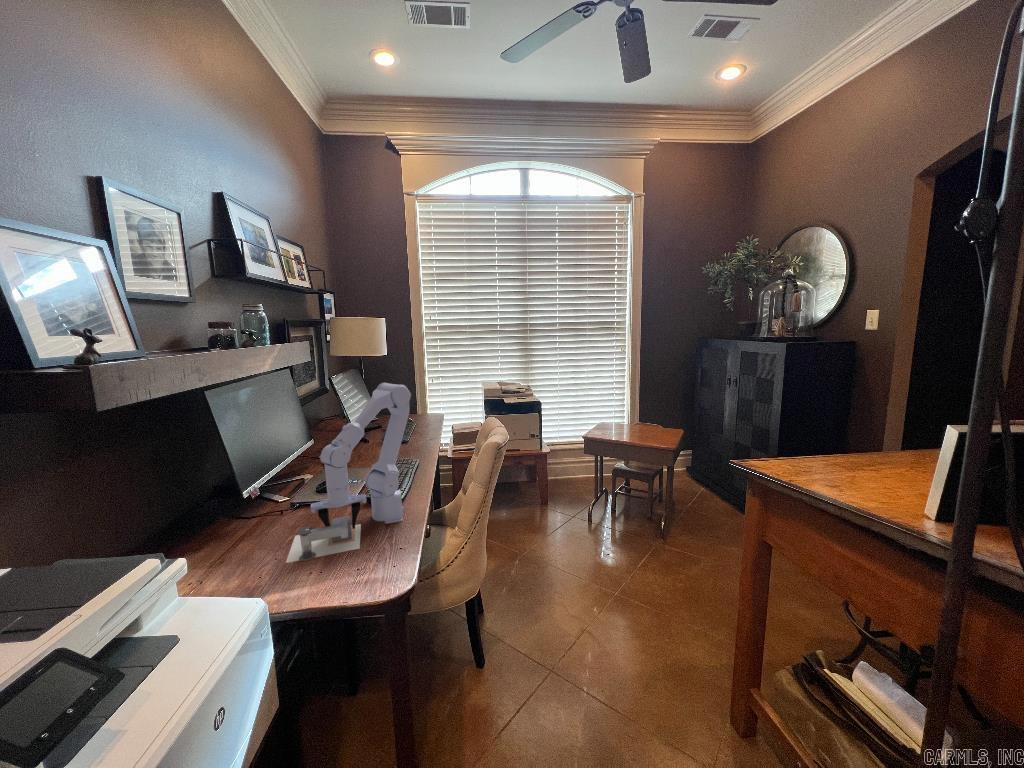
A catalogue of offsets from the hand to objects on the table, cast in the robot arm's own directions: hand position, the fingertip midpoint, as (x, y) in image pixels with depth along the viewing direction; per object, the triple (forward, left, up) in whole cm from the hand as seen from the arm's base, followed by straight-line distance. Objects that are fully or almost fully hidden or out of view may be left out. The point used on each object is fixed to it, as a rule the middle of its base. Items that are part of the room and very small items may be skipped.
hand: (341, 529), depth 112 cm
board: (+4, +2, -3) cm, 5 cm away
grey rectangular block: (0, 0, -2) cm, 2 cm away
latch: (+4, +8, -2) cm, 9 cm away
